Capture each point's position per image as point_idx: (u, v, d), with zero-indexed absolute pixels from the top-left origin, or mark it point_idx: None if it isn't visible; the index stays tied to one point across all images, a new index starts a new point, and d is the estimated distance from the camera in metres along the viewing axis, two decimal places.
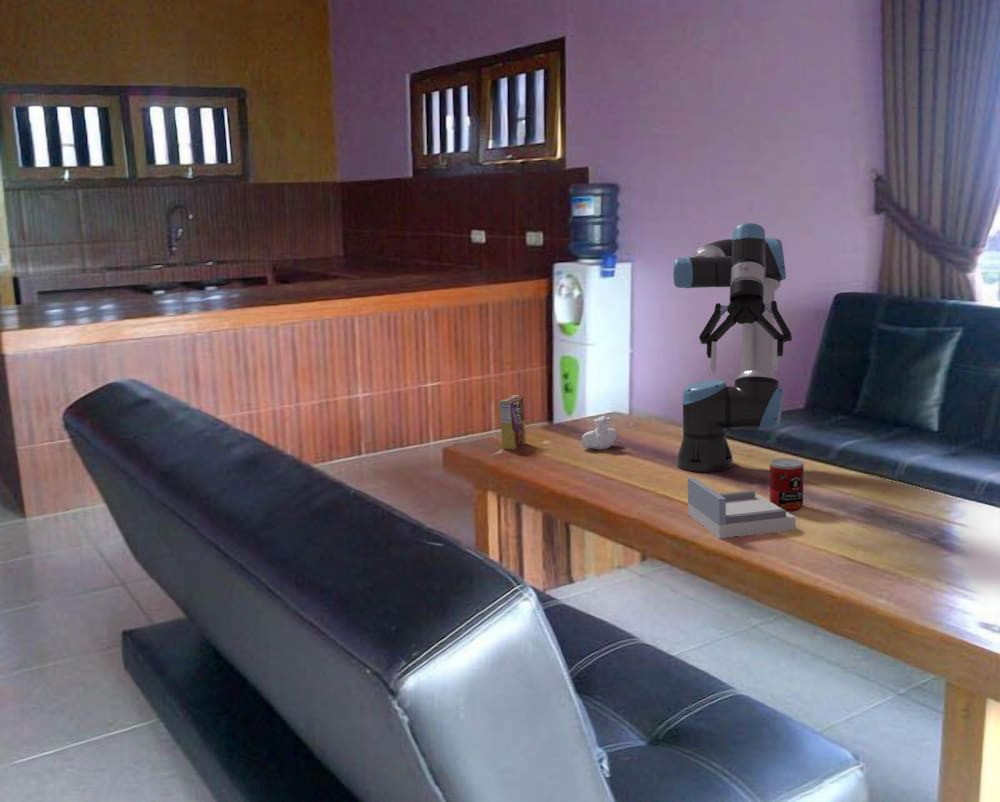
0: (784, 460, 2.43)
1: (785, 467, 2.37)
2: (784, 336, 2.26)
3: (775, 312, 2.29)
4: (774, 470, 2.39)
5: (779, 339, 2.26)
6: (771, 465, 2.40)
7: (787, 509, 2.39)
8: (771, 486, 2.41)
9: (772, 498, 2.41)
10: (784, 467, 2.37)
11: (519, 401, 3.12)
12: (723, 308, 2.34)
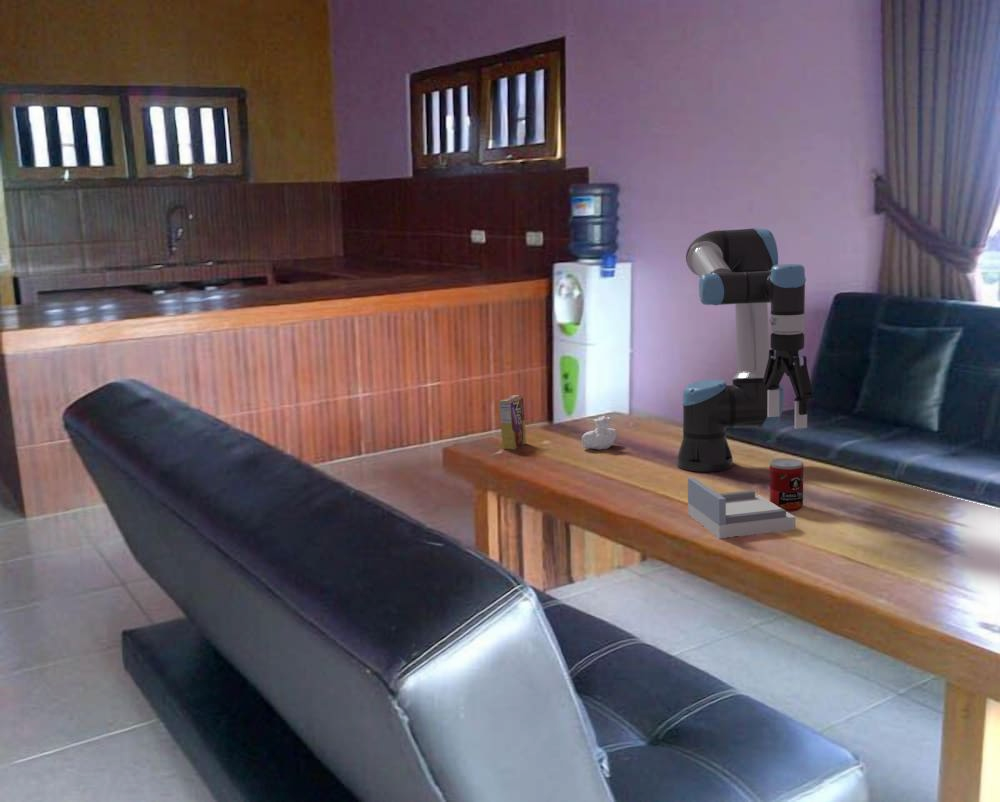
0: (784, 460, 2.43)
1: (785, 467, 2.37)
2: None
3: (796, 370, 2.29)
4: (774, 470, 2.39)
5: None
6: (771, 465, 2.40)
7: (787, 509, 2.39)
8: (771, 486, 2.41)
9: (772, 498, 2.41)
10: (784, 467, 2.37)
11: (519, 401, 3.12)
12: (775, 354, 2.40)
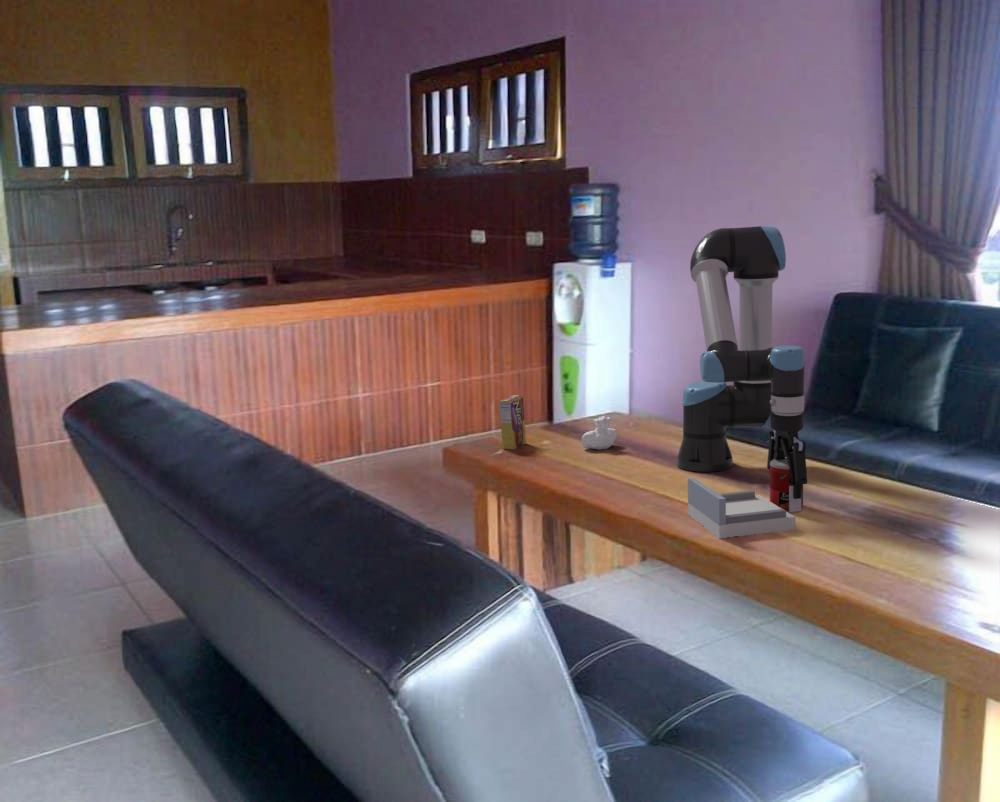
0: (784, 460, 2.43)
1: (785, 467, 2.37)
2: None
3: (794, 455, 2.34)
4: (774, 470, 2.39)
5: None
6: (771, 465, 2.40)
7: (787, 509, 2.38)
8: (771, 486, 2.41)
9: (772, 498, 2.41)
10: (784, 467, 2.37)
11: (519, 401, 3.12)
12: (775, 434, 2.44)
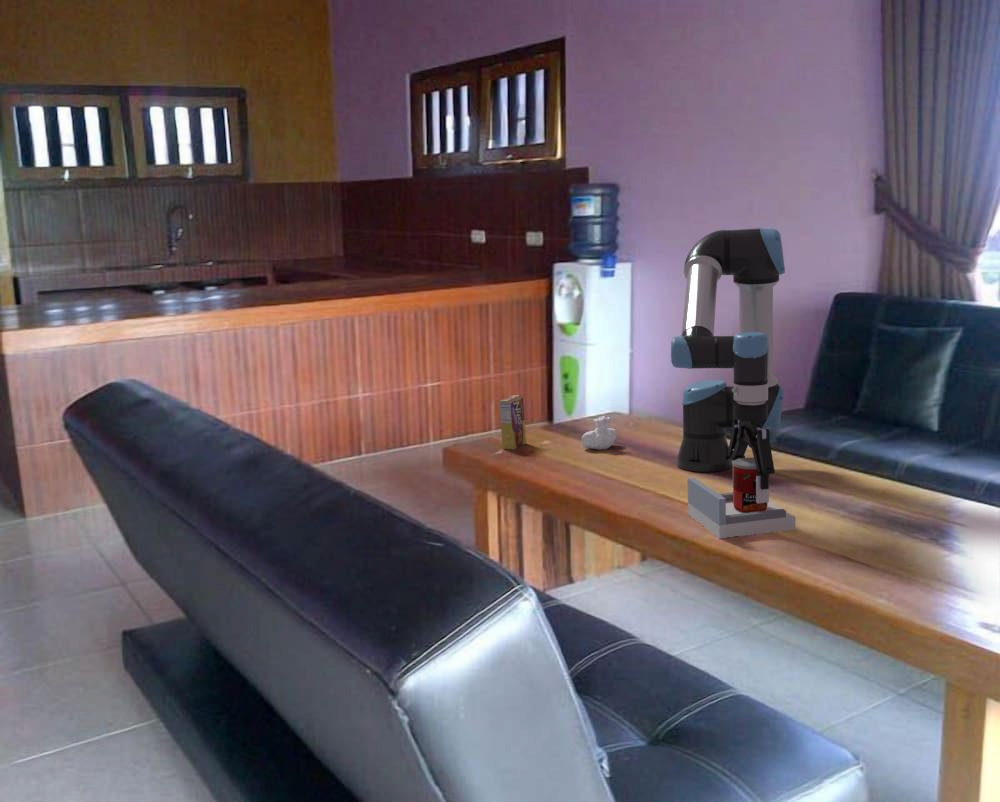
0: (748, 459, 2.33)
1: (748, 467, 2.27)
2: None
3: (758, 443, 2.23)
4: (737, 470, 2.29)
5: None
6: (734, 465, 2.30)
7: (750, 511, 2.29)
8: (734, 487, 2.31)
9: (735, 499, 2.31)
10: (747, 467, 2.27)
11: (519, 401, 3.12)
12: (738, 423, 2.34)
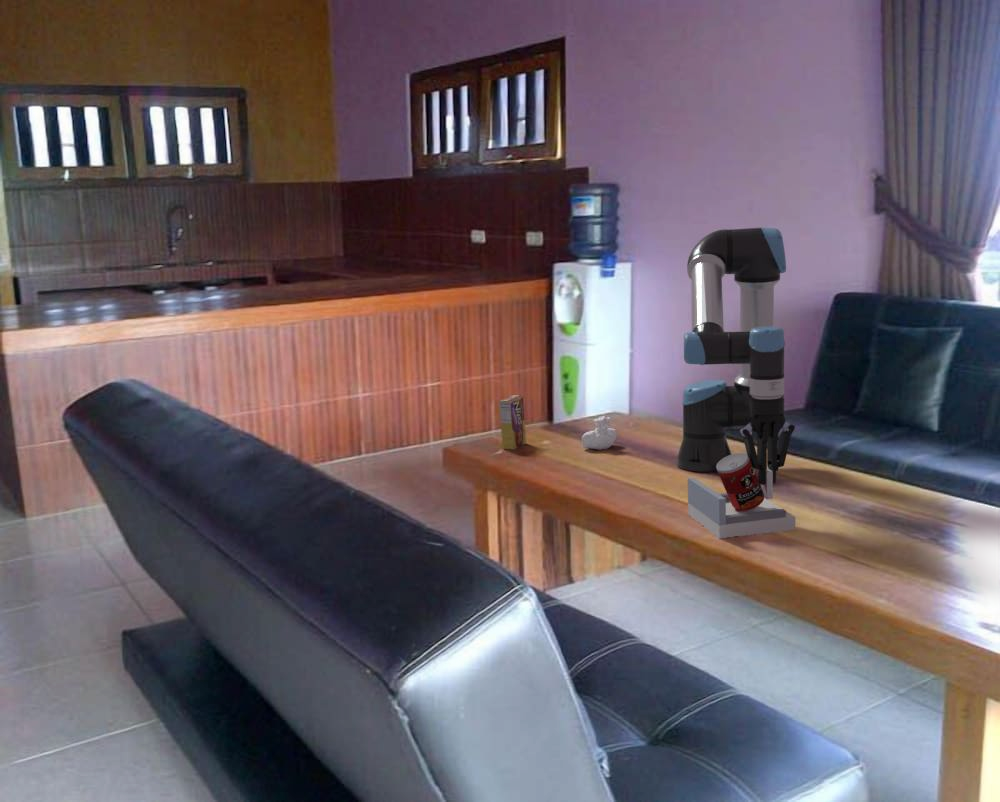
0: (730, 457, 2.32)
1: (731, 470, 2.26)
2: (777, 465, 2.31)
3: (787, 437, 2.30)
4: (722, 475, 2.28)
5: (772, 469, 2.30)
6: (718, 470, 2.29)
7: (749, 508, 2.29)
8: (726, 490, 2.31)
9: (731, 501, 2.31)
10: (730, 470, 2.26)
11: (519, 401, 3.12)
12: (749, 429, 2.28)
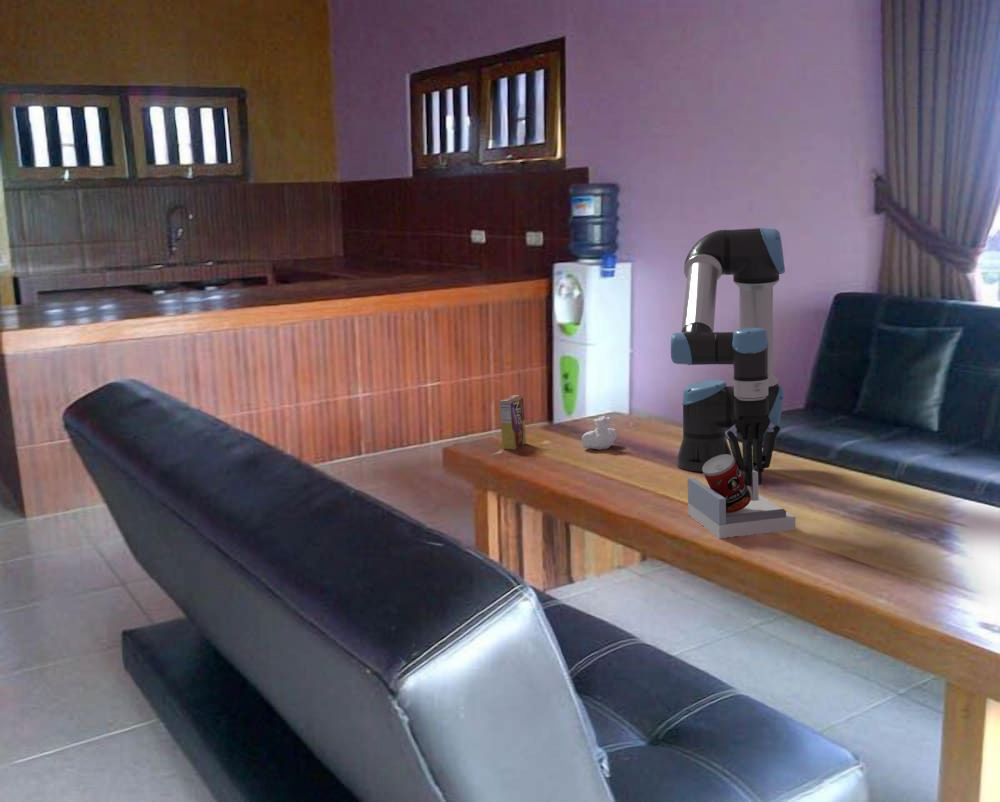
0: (715, 459, 2.31)
1: (717, 473, 2.25)
2: (762, 466, 2.30)
3: (772, 438, 2.29)
4: (708, 478, 2.27)
5: (758, 470, 2.30)
6: (704, 473, 2.28)
7: (736, 509, 2.28)
8: None
9: None
10: (716, 473, 2.25)
11: (519, 401, 3.12)
12: (734, 431, 2.27)
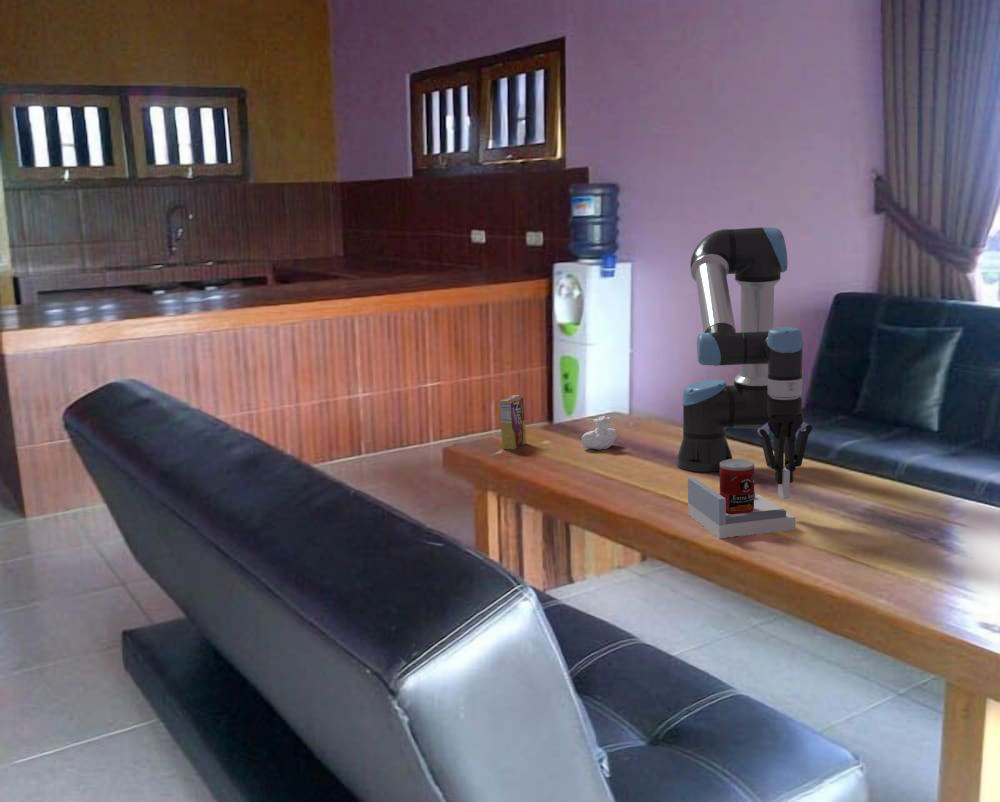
0: (734, 461, 2.33)
1: (735, 468, 2.26)
2: (794, 465, 2.32)
3: (805, 437, 2.31)
4: (724, 471, 2.28)
5: (789, 469, 2.32)
6: (721, 466, 2.29)
7: (738, 512, 2.28)
8: (721, 488, 2.30)
9: None
10: (734, 468, 2.27)
11: (519, 401, 3.12)
12: (766, 429, 2.29)
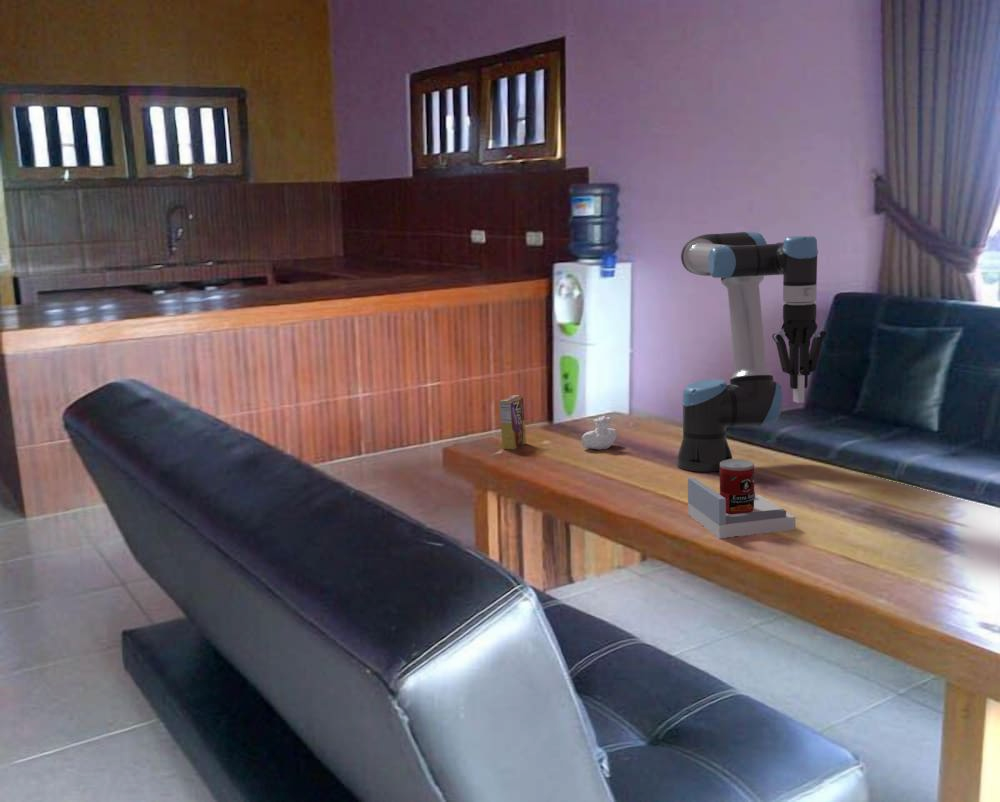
0: (734, 461, 2.33)
1: (735, 468, 2.26)
2: (809, 370, 2.41)
3: (819, 343, 2.39)
4: (724, 471, 2.28)
5: (804, 374, 2.40)
6: (721, 466, 2.29)
7: (738, 512, 2.28)
8: (721, 488, 2.30)
9: None
10: (734, 468, 2.27)
11: (519, 401, 3.12)
12: (782, 334, 2.38)
